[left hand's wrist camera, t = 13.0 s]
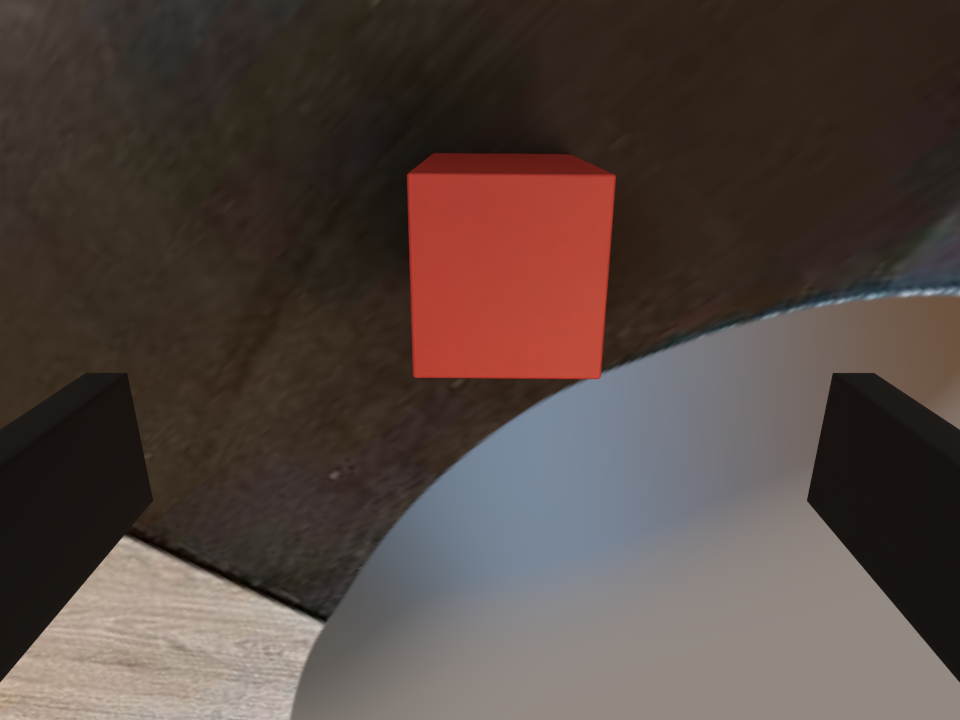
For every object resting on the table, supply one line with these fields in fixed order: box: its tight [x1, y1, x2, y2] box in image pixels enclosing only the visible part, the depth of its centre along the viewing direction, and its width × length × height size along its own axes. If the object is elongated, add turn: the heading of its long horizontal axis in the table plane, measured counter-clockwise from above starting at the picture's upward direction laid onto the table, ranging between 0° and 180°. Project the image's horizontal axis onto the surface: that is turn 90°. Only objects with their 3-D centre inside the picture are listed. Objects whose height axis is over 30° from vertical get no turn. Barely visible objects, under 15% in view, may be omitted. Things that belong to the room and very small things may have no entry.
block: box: [407, 153, 616, 379], centre depth 27 cm, size 6×7×11 cm
